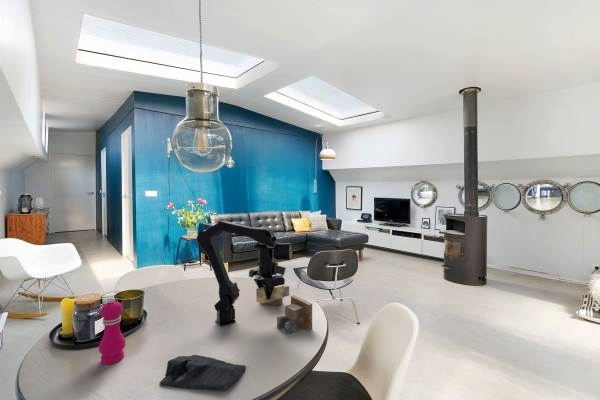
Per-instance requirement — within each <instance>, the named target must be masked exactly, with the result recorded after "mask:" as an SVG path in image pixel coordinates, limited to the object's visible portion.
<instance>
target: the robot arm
mask: <svg viewBox="0 0 600 400" xmlns="http://www.w3.org/2000/svg"><path fill="white" fill-rule="evenodd" d="M224 232H226V233H230V234H234V235H238V236H243V237H246V238H247V237H248V238H251V239H252V240H253V241H255V242H256V244H255V245H254V246H253V249H255V250H257V249H258V261H256V265H258V268H251V269H250V270H249V271H248V277H250V278H251V279H253V281H254V282H255V285H256V286H257V289H258V288H262V287H264V290H265V294H266V297H267V299H268V300H269V299H270V298H271V294H272V291H273V289H274V287H275V286H279V285H286V283H285V282H286V280H285V278H284V276H285V272H286V269H287V268H286V267H284V266H282V265H279V264H278V262H275V261H274V259H276V261H291V260H292V257H293V250H292V245H291V244H292V243H291V242H284V243H283V242H280V240H278V238H277V237H276V236H275V232H274V230H273V228H271V227H265V226H264V227H262V226H261V227H260V226H259V227H257V226H256V227H255V226H253V227H252V226H248V225H244V224H240V223H235V222H230V221H228V220H221V221H217V222H216V223H215V224H214V225H213V226H211V227H209V228H208V229H205V230H201V231H199V232H198V233H197V236H196V241H197V243H198V245H199V246H200V248H201V249H202V250H203V251H204V252H206V254H207V258H208V260H209V263H210V265H211V268H212V271H213V274H214V276H215V279H216V281H217V284H218V297H219V300H218V301H217V302H216V303H215V304H214V309H215V311H216V318H215V319H214V320H215V322H216V323H217V324H218V325H219V326H220V327H223V326H226V325H229V324H234V323H236V321H237V320H236V309H235V306H234V304H235V303H236V301H237V300H238V299H239V297H240V292H241V290H240V289H239V287H238V283H237V282H236V281H234V282H233V281H231V279H230V276H229V274H228V271H227V269H226V266H225V264H224V260H223V259H222V256H221V253H220V251H219V239H218V238H219V236H220V235H221V234H223V233H224ZM277 274H278V275H277ZM280 275H283V277H281V276H280Z"/></svg>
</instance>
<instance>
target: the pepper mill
mask: <svg viewBox="0 0 600 400" xmlns="http://www.w3.org/2000/svg"><path fill="white" fill-rule="evenodd" d="M107 301H108V302H107V303H104V304H103V306H101V309H100V316H101V317H102V324H103V325H104V332H103V336H102V337H101V340H100V341H99V345H98V352H99V353H100V355H101V356H100V363H101V364H102V365H104V366H105V365H106V366H107V365H113V364H116V363H119V362H120V361H122V360H123V359H124V358H125V350H124V348H125V347H126V338H125V337H124V335H123V333H122V331H121V328H120V322H121V320H122V315H121V314H122V313H123V310H124V308H123V305H122V303H121V302H119V301H116V299H115V298H114V297H109V299H108V300H107Z"/></svg>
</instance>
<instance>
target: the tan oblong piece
mask: <svg viewBox="0 0 600 400" xmlns="http://www.w3.org/2000/svg"><path fill="white" fill-rule="evenodd" d="M255 291H256V292H255V293H256V295H255V297H256V301H255V302H257V303H258V304H261V305H262V304H265V303H266V302H269V301H273V300H277V299H281V298H285V297H289V296H290V285H287V284H284V285H279V286H275V287H274V289H273V291H272V294H271V298H270V299H269V300H268V299H267V297H266V294H265V290H264V287H262V288H258V287H257V288H256V290H255Z"/></svg>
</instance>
